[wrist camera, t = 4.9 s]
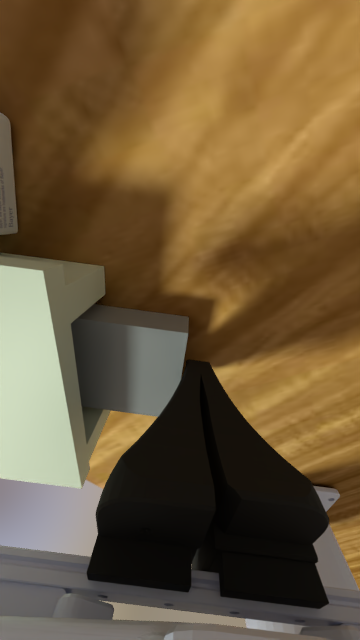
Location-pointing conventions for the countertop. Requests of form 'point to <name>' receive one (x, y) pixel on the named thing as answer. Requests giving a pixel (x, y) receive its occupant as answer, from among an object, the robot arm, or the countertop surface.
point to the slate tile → (128, 358)
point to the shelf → (45, 370)
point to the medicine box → (7, 180)
